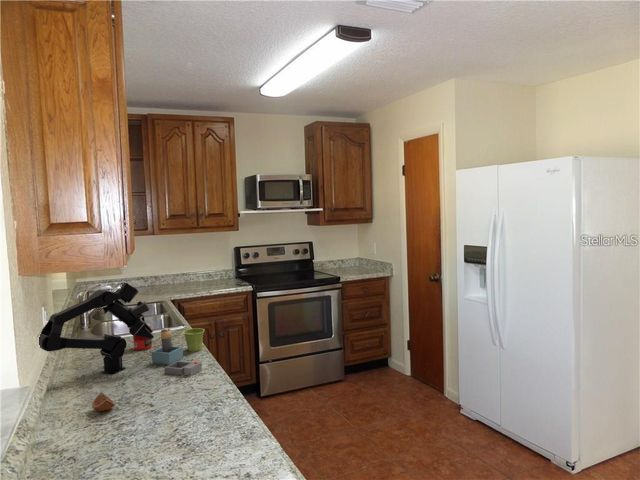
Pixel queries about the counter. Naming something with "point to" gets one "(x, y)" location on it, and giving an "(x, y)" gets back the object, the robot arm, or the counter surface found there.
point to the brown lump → (102, 403)
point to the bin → (167, 356)
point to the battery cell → (166, 340)
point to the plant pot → (194, 339)
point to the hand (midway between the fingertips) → (152, 335)
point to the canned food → (142, 342)
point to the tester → (183, 368)
